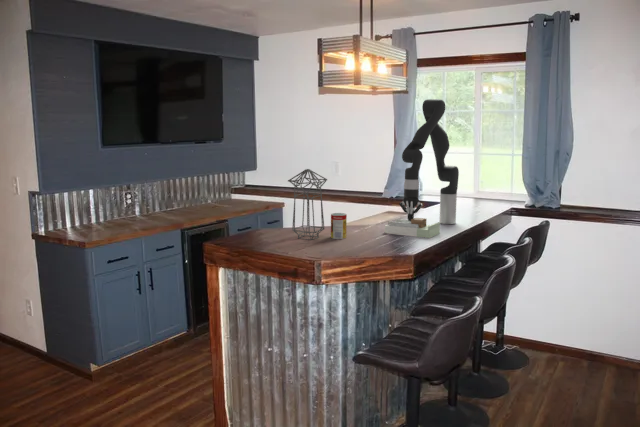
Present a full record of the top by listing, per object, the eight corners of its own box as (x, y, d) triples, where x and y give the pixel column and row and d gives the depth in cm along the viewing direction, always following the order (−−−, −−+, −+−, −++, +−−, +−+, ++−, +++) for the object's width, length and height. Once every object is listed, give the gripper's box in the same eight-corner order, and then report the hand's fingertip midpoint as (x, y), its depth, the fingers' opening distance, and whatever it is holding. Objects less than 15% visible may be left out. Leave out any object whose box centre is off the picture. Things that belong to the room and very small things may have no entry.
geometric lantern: (329, 237, 280) (329, 168, 274) (313, 243, 267) (312, 171, 261) (303, 233, 288) (302, 166, 282) (286, 239, 275) (285, 169, 269)
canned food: (345, 236, 283) (345, 212, 281) (347, 239, 275) (347, 215, 273) (330, 236, 283) (330, 213, 281) (331, 239, 275) (331, 215, 273)
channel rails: (396, 222, 299) (396, 218, 299) (425, 225, 290) (425, 221, 290) (388, 225, 291) (388, 221, 290) (418, 228, 282) (418, 224, 281)
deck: (395, 228, 302) (396, 218, 301) (439, 233, 289) (439, 222, 288) (384, 233, 290) (384, 221, 289) (429, 238, 277) (429, 226, 276)
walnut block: (415, 225, 291) (415, 217, 290) (426, 226, 288) (426, 218, 287) (410, 226, 286) (411, 219, 285) (421, 227, 283) (421, 220, 282)
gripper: (426, 188, 286) (425, 221, 288) (402, 186, 293) (401, 218, 296) (420, 189, 280) (419, 223, 282) (396, 187, 287) (395, 220, 289)
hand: (410, 220), depth 289 cm, fingers closed
